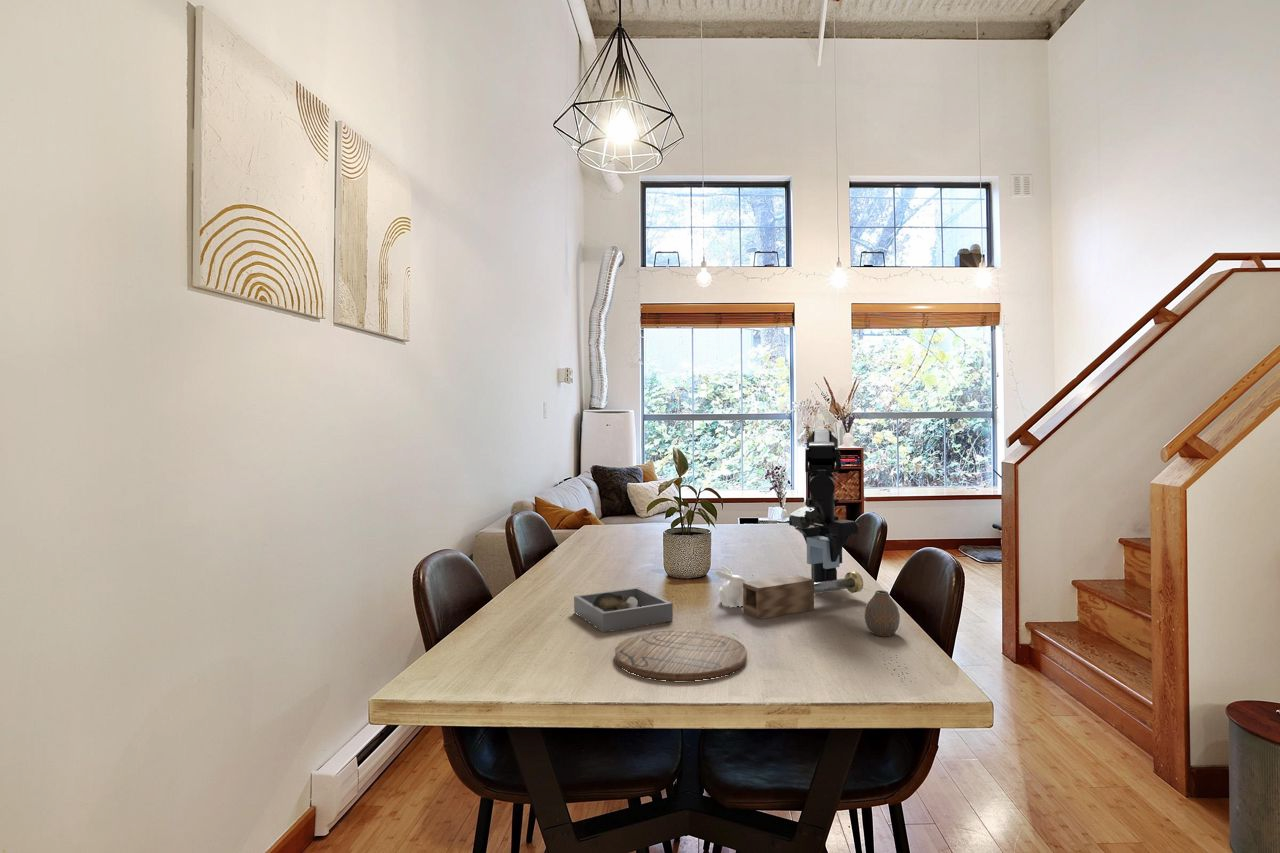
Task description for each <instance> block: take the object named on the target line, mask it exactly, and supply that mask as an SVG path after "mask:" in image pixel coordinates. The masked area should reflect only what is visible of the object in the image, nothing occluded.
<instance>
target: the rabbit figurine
mask: <svg viewBox="0 0 1280 853" xmlns="http://www.w3.org/2000/svg"><path fill="white" fill-rule="evenodd" d="M720 568H721V571H720V570H718V569H717V570H715V575H716V576H717V577H718V578H720V579H725V580H726V581H725V582H724V583H723V584H722V586H720V587H719V589H718V596H719V600H720V602H721V605H722V606H723V605H724V606H723V607H728V606H730V607H729V608H731V607H735V608H741V609H742V610H741V611H743V607H741V606H743V583H745V582H747V581H746V580H745V578H744V577H742V576H741V575H739V574H738V575H737V574H734V571H733V570H730V569H729V568H728V567H726V566H725V565H721V567H720ZM737 606H739V607H737Z"/></svg>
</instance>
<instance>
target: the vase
mask: <svg viewBox="0 0 1280 853" xmlns="http://www.w3.org/2000/svg"><path fill="white" fill-rule="evenodd" d="M864 610H865V611H864V620H865V621H864V622H865V626H866V627H867V629H868V630H869V631H870V633H872V634H873V635H874V636H878V637H891V636H893V635H894V634H895V633H896V632H897V630H898V629H899V626H900V621H901V620H900V619H901V614H900V611H899V607H898V606H897V604H896V603H895V601H894V599H892V597H891V596H890V593H889V592H888V591H886V590H883V589H882V590H876V591H875V592H874V595H873V596H872V598H870V600H869V601H868V602H867V604H866V607H865V609H864Z"/></svg>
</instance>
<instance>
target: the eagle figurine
mask: <svg viewBox="0 0 1280 853" xmlns="http://www.w3.org/2000/svg"><path fill="white" fill-rule="evenodd" d="M606 592H607V593H603V594H600V595H598V596H597V597H596V598H595V599H594V602H593V603H592V604H593V605H595V606H596V607H598V608H600V609H607V610H612V611H615V610H622V609H628V608H635V607H638V601H637V599H636V598H634V597H629V598H628V600H627V601H626V597H624V599H623V598H622V596H621V595H615V594H611V593H608V591H606Z"/></svg>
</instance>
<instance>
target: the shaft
mask: <svg viewBox="0 0 1280 853" xmlns="http://www.w3.org/2000/svg"><path fill="white" fill-rule="evenodd" d="M862 577H863V576H862V575H861V574H860V573H859V572H857V571H851V572H847V573H846V574H845V575H844V578H837V580H831V581H824V582H818V583H814V595H815V594H817V595H818V594H822V593H828V592H834V591H840V590H847V591H848V592H849V593H852V594H855V593H860V592H861V591H862V590H863V589H864V580H863V578H862Z"/></svg>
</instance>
